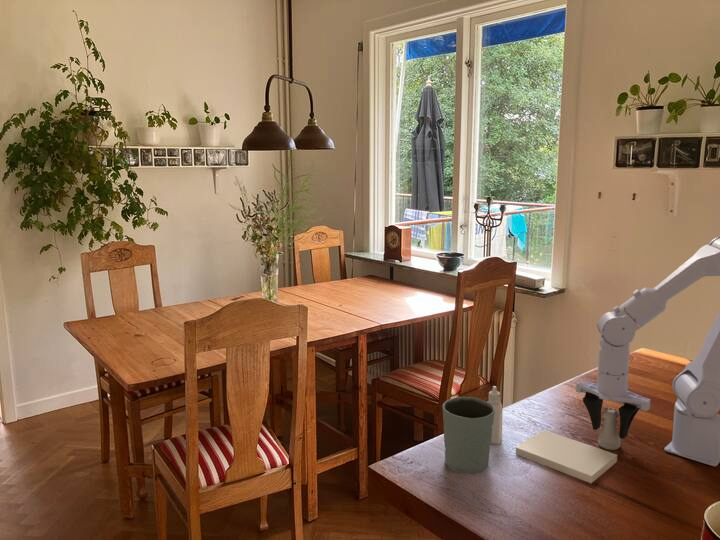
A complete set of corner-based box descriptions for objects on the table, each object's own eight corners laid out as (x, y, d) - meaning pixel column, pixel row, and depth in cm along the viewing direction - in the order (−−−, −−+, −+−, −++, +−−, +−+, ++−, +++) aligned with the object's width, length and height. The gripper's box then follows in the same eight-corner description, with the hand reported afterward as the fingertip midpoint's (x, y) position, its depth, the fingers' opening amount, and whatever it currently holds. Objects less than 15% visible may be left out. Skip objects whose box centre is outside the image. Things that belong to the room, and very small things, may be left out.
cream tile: (616, 461, 116) (617, 454, 115) (591, 483, 108) (591, 476, 108) (543, 435, 127) (543, 429, 127) (515, 454, 120) (515, 447, 120)
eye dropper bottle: (509, 437, 127) (510, 385, 125) (496, 446, 123) (497, 393, 121) (491, 431, 130) (492, 380, 128) (478, 440, 126) (478, 388, 124)
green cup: (440, 450, 122) (440, 396, 120) (488, 450, 122) (489, 396, 120) (445, 476, 112) (445, 418, 110) (498, 475, 112) (499, 417, 110)
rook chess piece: (622, 443, 123) (624, 408, 121) (618, 452, 119) (620, 416, 118) (599, 438, 125) (601, 403, 124) (595, 447, 122) (597, 411, 120)
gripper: (570, 367, 122) (567, 428, 124) (641, 385, 111) (637, 451, 114) (585, 359, 126) (583, 417, 129) (656, 375, 116) (651, 438, 118)
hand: (609, 432), depth 122 cm, fingers open, 5 cm apart
